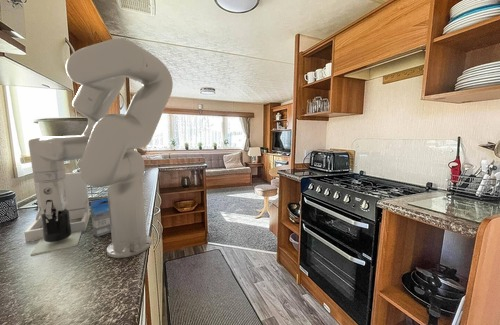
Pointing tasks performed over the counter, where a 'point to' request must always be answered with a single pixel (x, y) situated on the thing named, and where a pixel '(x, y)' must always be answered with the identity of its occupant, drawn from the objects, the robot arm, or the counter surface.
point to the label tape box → (100, 217)
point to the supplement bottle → (65, 227)
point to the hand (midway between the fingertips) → (57, 228)
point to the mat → (57, 244)
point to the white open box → (76, 207)
